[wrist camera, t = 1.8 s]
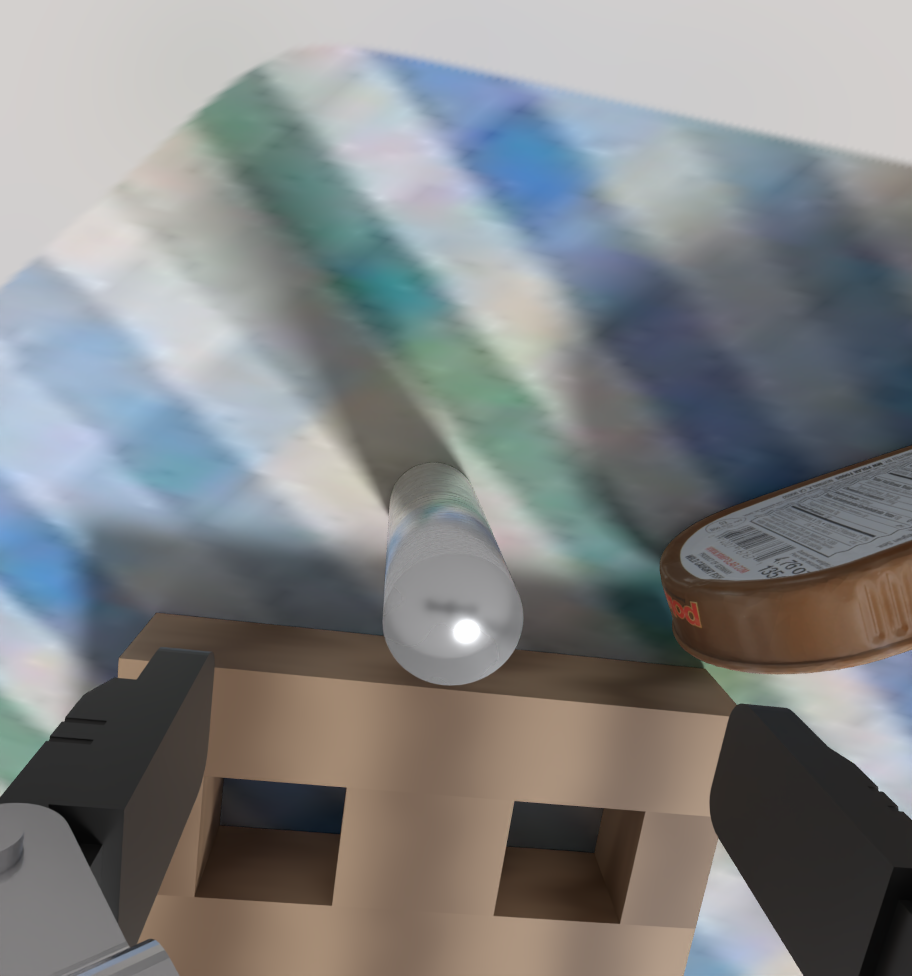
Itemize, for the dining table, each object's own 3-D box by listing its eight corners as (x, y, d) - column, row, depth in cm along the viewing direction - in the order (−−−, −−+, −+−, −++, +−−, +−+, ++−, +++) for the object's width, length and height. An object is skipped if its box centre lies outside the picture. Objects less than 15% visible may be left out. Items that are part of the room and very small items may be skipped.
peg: (482, 468, 25) (534, 562, 15) (469, 551, 26) (511, 691, 16) (395, 457, 25) (391, 545, 15) (384, 541, 25) (374, 678, 16)
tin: (640, 605, 27) (746, 731, 19) (618, 527, 26) (717, 623, 18) (1030, 471, 27) (1308, 538, 19) (1018, 389, 26) (1303, 421, 18)
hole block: (705, 668, 27) (748, 718, 24) (642, 936, 30) (673, 1015, 27) (156, 612, 25) (118, 658, 22) (138, 905, 28) (102, 986, 25)
